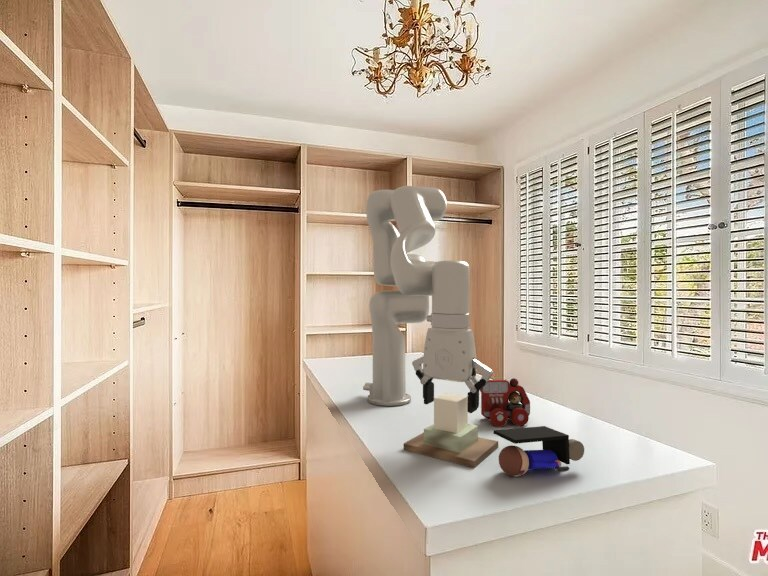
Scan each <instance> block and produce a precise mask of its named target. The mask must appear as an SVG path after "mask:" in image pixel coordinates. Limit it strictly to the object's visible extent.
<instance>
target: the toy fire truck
mask: <svg viewBox="0 0 768 576" xmlns="http://www.w3.org/2000/svg"><path fill="white" fill-rule="evenodd" d="M479 393H480V394H481V396H480V397H481V398H480V399H481V400H480V409H481V410H480V411H481V412H480V413H481V416H483V418H485V419H487V420H489V421H490V423H491V424H492V425H493V426H495V427H497V428H500V427H503V426H505V425H506V424H507V422H508V420H511V422H512V423H513V424H515V425H516V426H518V427H522V426H525V425H526V424H528V422H529V419H530V417H529V416H530V414H531V401H530V399H529V397H528V395H527V392H526V390H525V389H524V387H523V386H522V385H520V384H519V379H517V378H515V377H514V378H513V377H512V378H511V379H510V380H509V381H508V380H507V379H489V380H488V383H487V384H486V385H485V386H484V387H483V388H482V389H481V390H479Z"/></svg>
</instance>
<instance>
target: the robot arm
mask: <svg viewBox="0 0 768 576" xmlns="http://www.w3.org/2000/svg"><path fill="white" fill-rule="evenodd" d="M447 203H448V202H447V198H446V196H445V194H444V192H443V191H442V190H441V189H439V188H436V187H431V186H430V187H429V186H418V185H417V186H416V185H403V186H400V187H397V188H396V189H379V190H378V189H377V190H374V191H372V192H370V194H369V195H368V197H367V200H366V207H365V213H366V219H367V221H366V222H367V225H368V228H369V230H370V234H371V238H372V260H373V261H372V262H373V277H374V280H375V282H376V284H378V285H379V286H383V287H384V286H386V287H396V288H397V290H381V291H377V292H375V293H374V294H372V295H371V296H370V299H369V302H368V303H369V304H368V308H369V315H370V321H371V329H372V330H371V332H372V333H371V334H372V337H371V338H372V382H365V383H364V385H363V386H362V390H363V391H367V392H369V394H367V398H366V399H367V402H368V403H370V404H372V405H375V406H382V407H383V406H385V407H390V406H391V407H393V406H395V407H396V406H402V405H407V404H408V403H411V401H412V397H411V395H410V394H408V393H406V390H407V389H406V385H407V384H406V338H405V335H404V334H403V332H402V330H401V329H400V328H399V326H398V325H400V324H401V325H402V324H419V323H424V322H425V321H426V322H430V326H431V327H429V328H427V330H426V331H427V332H426V336H425V342H424V348H423V356H421V357H418V358H417V359H414V360H413V361H412V362H411V364H412V366H413V369H414V371H415V375H416V377H417V378H418V379H419V381H420V384H421V385H422V399H423V404H424V405H428V404H431V403H434V398H435V383H434V382H433V380H434V379H435V380H442V381H449V382H455V383H465V386H466V387H467V388H468V390H469V392H467V396H468V413H469V414H473V413H474V412H476V411H477V410H478V409H479V407H480V390H481V389H482V388H483V387H484V386H485V385H486V384H487V383H488V380H491V377H492V375H493V373H494V372H493V370H492V369H491V368H490V367H488V366H487V365H485V364H484V363H482V362H480V361H479V360H477V350H476V343H475V342H476V340H475V337H474V336H475V335H474V332H473V329H470V328H471V326H470V324H471V323H470V307H471V306H470V305H471V304H470V303H471V301H470V300H471V299H470V297H471V293H470V291H471V288H470V287H471V285H470V284H471V282H470V281H471V278H470V277H471V275H470V274H471V270H470V265H469V264H468V262H467V261H464V260H439V261H430V260H427V261H426V259H425V257H423V256H421V255H419V254H416V253H410V252H413V251H416V250H417V249H419V248H422V247H424V246H426V245H427V244H429V243H430V242H431V241H432V240H433V238H434V237H435V234H436V227H435V223H434V222H437V221H440V220H442V219H443V218H444V217H445V215H446V212H447V207H448V205H447ZM392 221H394V222H395V223H396V226H397V227H396V226H395V225H394V224H393V223H392ZM430 297H431V313H430V315H429V312H430ZM477 371H478V372H480V373H481V378H480V379H479V380H478V379H477V377H476V376H477Z"/></svg>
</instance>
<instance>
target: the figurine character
mask: <svg viewBox="0 0 768 576" xmlns="http://www.w3.org/2000/svg"><path fill="white" fill-rule="evenodd" d="M492 433H493V434H494V435H496V436H498V437H500V438H502V439H504V440H506V441H509V442H511V443H513V444H514V445H512V444H511V445H507V446H504V447H503V448H502V449H501V450H500V452H499V453H498V465H499V467H500V468H501V470H502V472H503V473H504V474H506V475H508V476H510V477H513V478H514V477H515V478H516V477H521V476H522V475H524V474H526V473H527V471H528V470H545V469H555V470H556V471H562V470H569V469H570V467H569V465H570V464H571V461H570V460H572V461H573V462H576V461H577V462H578V461H580V460H581V459H582V458H583V457H584V454H585V446H584V444H583V443H582V442H581V441H579V440H576V439H573V438H569V437H570V436H569V435H568V433H567V434H566V433H563V432H561V431H559V430H555V429H553V428H552V427H548V426H546V425H541V426H529V427H527V426H526V427H517V428H516V427H515V428H502V429H501V428H500V429H493V431H492ZM537 442H542V449H529V450H526V449H525V450H524V449H523V448H522V447H520V446H517V445H518V444H524V443H526V444H527V443H537ZM515 444H517V445H515ZM562 463H564V464H565V465H568V466H561V465H562Z"/></svg>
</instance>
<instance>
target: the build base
mask: <svg viewBox="0 0 768 576" xmlns="http://www.w3.org/2000/svg"><path fill="white" fill-rule="evenodd" d="M497 449H499V441H498V440H494V439H489V438H485V437H479V425H475V424H471V423H468V426H467V427H466V428H464V429H463V430H461V431H460V432H458V433H454V432H449V431H444V430H439V429H434V423H432V424H430V425H428V426H426V427H425V428H423V432H422V433H420V434H418V435H416V436H415V437H413V438H410V439H409V440H407V441H405V442H404V443H403V450H404V451H406V452H407V451H408V452H412V453H416V454H419V455H424V456H427V457H431V458H434V457H435V459H440V460H443V461H447V462H451V463H454V464H455V463H456V464H458V465H463V466H466V467H469V468H473V469H474V468H476V467H478V465H480V464H481V463H482V462H483V461H484V460H485V459H487V458H488V457H489V456H490V455H491V454H493V452H495V451H496V450H497Z"/></svg>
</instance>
